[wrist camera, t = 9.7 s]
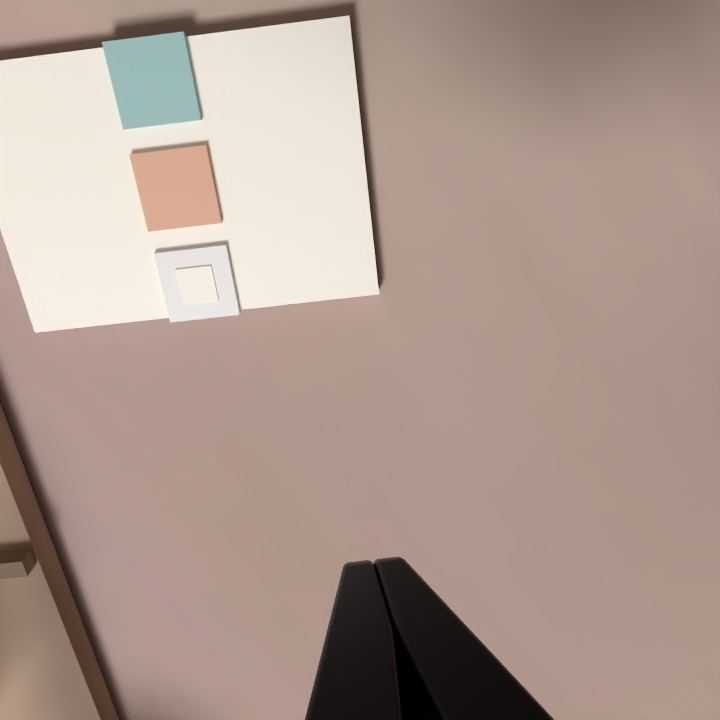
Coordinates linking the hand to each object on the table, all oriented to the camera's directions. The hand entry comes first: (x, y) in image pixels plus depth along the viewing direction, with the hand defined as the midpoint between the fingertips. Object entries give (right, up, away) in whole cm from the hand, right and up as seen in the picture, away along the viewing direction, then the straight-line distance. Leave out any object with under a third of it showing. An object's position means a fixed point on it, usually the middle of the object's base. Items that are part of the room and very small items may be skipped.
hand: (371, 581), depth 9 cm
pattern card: (-5, +8, +8) cm, 12 cm away
